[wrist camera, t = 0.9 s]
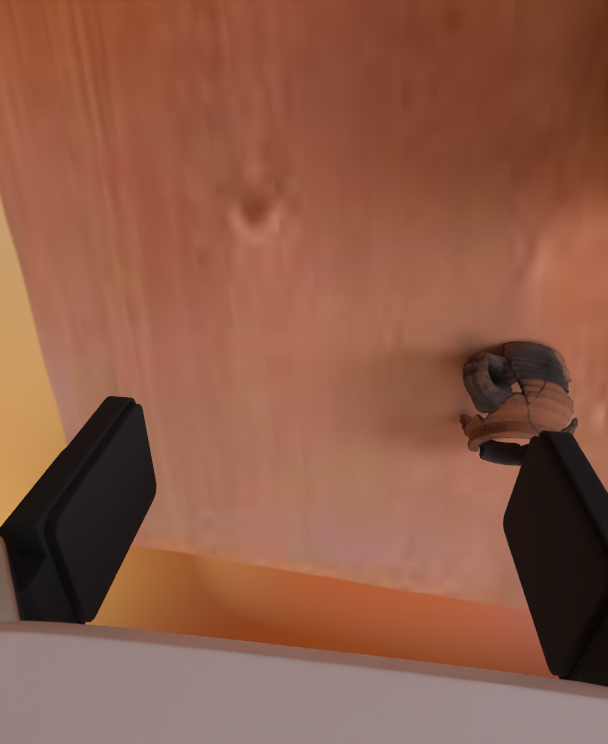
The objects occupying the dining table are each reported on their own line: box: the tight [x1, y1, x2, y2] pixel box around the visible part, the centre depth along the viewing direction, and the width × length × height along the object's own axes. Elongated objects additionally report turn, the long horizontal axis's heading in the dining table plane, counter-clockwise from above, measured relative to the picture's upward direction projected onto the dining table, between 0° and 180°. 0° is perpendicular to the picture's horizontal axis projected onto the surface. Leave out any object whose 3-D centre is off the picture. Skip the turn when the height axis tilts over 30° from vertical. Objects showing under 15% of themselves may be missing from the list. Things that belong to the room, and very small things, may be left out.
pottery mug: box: [460, 342, 578, 466], centre depth 40 cm, size 12×10×8 cm
